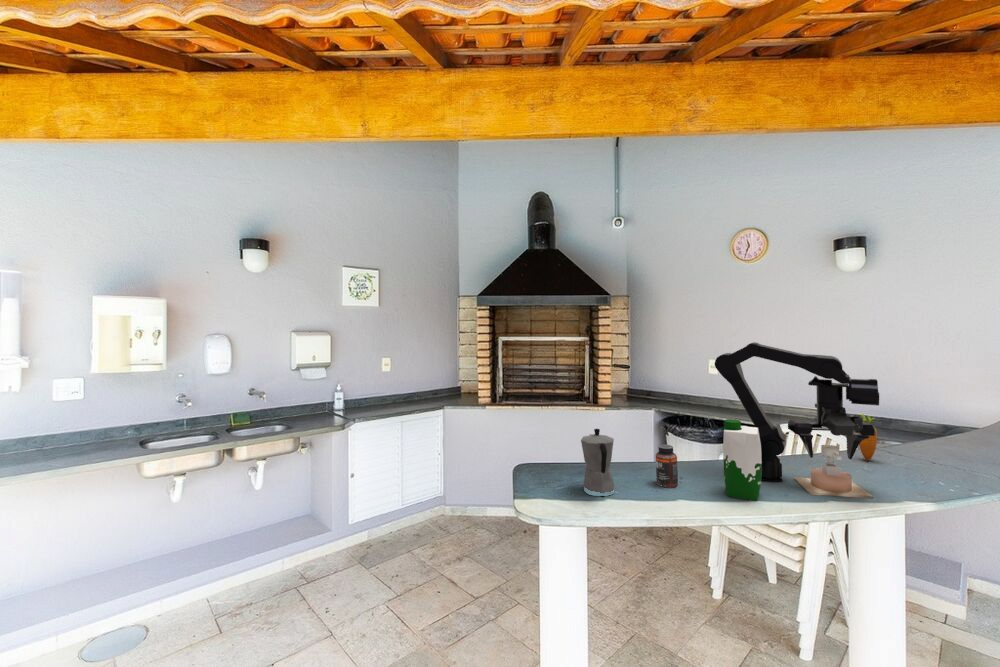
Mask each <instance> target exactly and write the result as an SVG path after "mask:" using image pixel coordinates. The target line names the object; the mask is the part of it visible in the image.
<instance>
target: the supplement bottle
mask: <svg viewBox="0 0 1000 667" xmlns="http://www.w3.org/2000/svg"><path fill="white" fill-rule="evenodd" d="M678 474H679V473H678V456H677V453H674V446H673V445H671V444H659V445H658V452H656V454H655V475H656V476H655V477H656V484H657V483H658V484H660V485H662V486H661V487H663V486H666V487H665V488H675V487H677V486H678V484H679V475H678ZM658 484H657V485H658ZM660 485H659V486H660Z"/></svg>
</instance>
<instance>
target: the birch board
mask: <svg viewBox="0 0 1000 667" xmlns="http://www.w3.org/2000/svg"><path fill="white" fill-rule="evenodd" d="M793 479H794V481H795V482H796V483H797V484H798V485H799V486H800V487H802V488H803V489H804V490H805V491H806V492H807V493H808V494H811V495H812V496H814V495H815V496H830V497H831V496H832V497H843V498H845V497H846V498H849V497H850V498H863V499H873V495H872V494H870V493H869V492H868V491H866V490H865V489H863V488H862V487H860V486H859V485H857V484H856V483H855V482H853V481H852V490H851V491H850V492H845V493H838V492H830V491H825V490H822V489H819V488H816V487H814V486H813V485H812V484H811V477H797V476H796V477H795V476H793Z"/></svg>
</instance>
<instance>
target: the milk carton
mask: <svg viewBox="0 0 1000 667" xmlns="http://www.w3.org/2000/svg"><path fill="white" fill-rule="evenodd" d="M723 422H724V423H723V444H722V448H723V453H722V455H723V456H722V457H723V478H724V484H725V491H726V497H729V498H736V499H741V500H742V499H743V500H749V501H753V502H755V501H756V502H758V500H759V494H760V489H761V484H762V480H761V477H762V458H761V443H760V437H759V431H758V428H756V427H755V426H748V425H742V422H741V420H739V419H731V418H730V419H729V418H727V419H726V418H725V419H724V421H723Z"/></svg>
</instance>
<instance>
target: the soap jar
mask: <svg viewBox="0 0 1000 667" xmlns="http://www.w3.org/2000/svg"><path fill="white" fill-rule="evenodd" d="M810 478H811V484H812V485H813V486H814V487H816V488H819V489H822V490H825V491H830V492H838V493H845V492H850V491H851V490H852V482H853V479H852V478H853V477H852V475H851V474H850V473H848V472H846V471H842V470H840V466H838V465H837V464H836V463H834V465H829V464H827V462H822V463H821V467H816V468H815V467H814V468H811V470H810Z"/></svg>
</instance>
